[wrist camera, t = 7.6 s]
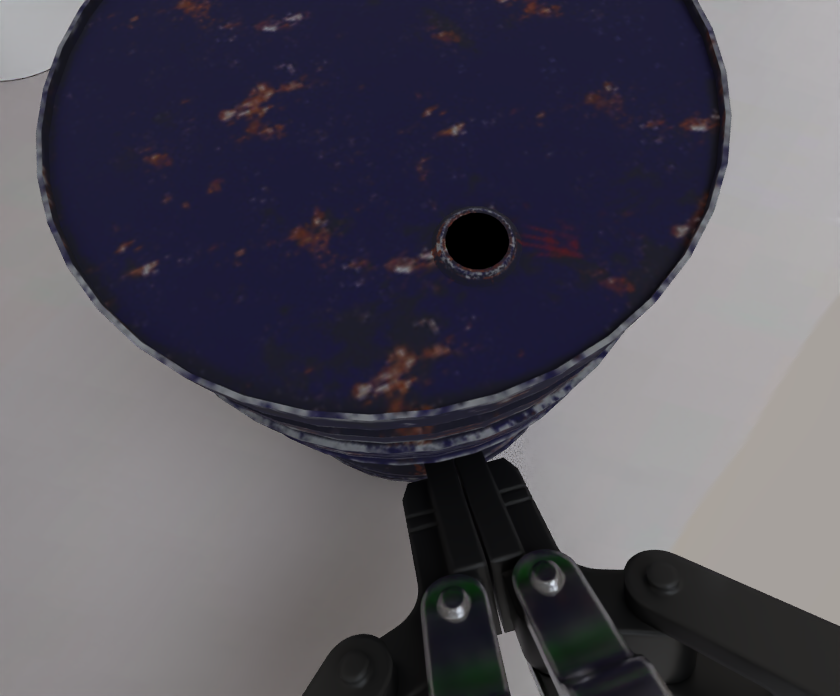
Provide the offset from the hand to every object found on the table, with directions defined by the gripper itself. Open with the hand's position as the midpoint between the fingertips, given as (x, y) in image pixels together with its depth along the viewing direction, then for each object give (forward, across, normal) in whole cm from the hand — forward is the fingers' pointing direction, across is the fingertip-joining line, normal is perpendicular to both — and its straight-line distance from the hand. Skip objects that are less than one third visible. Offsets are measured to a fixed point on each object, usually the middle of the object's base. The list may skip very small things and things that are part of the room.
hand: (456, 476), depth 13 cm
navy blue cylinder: (+9, 0, -1) cm, 9 cm away
